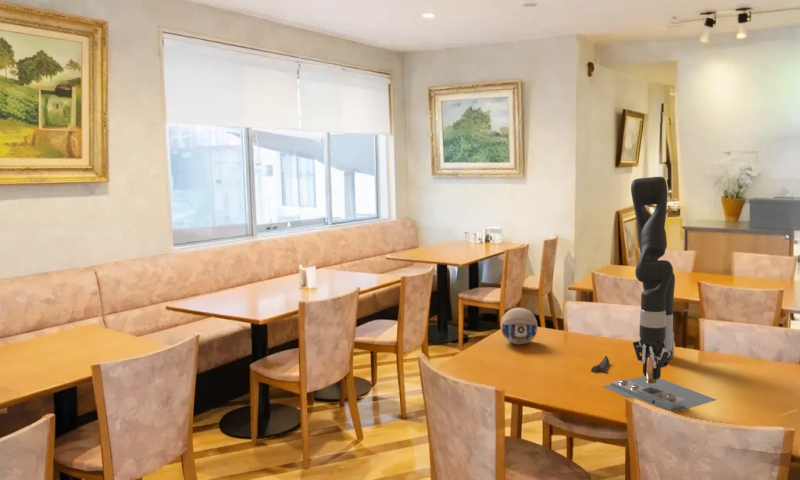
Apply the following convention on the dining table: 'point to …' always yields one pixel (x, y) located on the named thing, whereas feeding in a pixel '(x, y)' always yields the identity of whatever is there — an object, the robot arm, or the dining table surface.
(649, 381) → the pin
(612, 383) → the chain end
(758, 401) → the dining table surface
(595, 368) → the dark grey rock
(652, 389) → the chain end
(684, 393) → the grey flat rectangular plate
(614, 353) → the dining table surface
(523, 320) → the ornament
